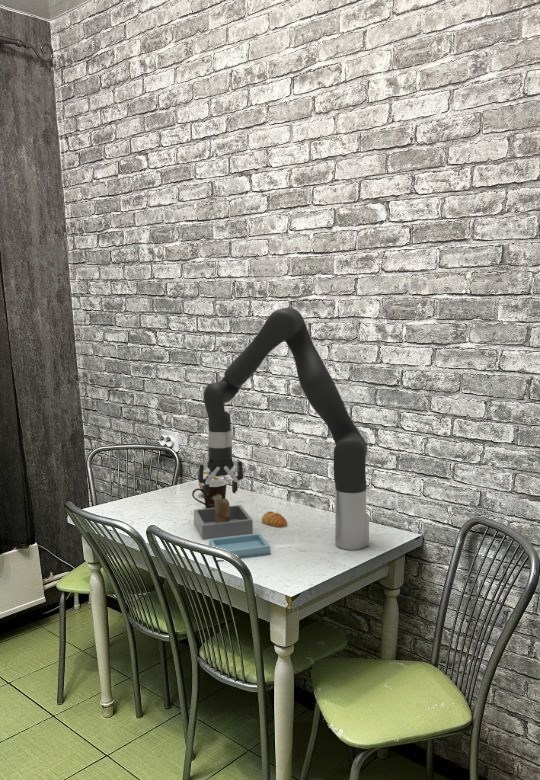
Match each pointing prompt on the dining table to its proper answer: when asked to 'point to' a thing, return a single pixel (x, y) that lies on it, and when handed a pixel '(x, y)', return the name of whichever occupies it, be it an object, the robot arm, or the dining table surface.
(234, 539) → the shallow blue tray
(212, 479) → the decorative fruit
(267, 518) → the pastry
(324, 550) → the dining table surface
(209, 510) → the low gray crate
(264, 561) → the dining table surface
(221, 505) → the walnut block
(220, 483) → the coffee mug
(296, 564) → the dining table surface
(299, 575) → the dining table surface
